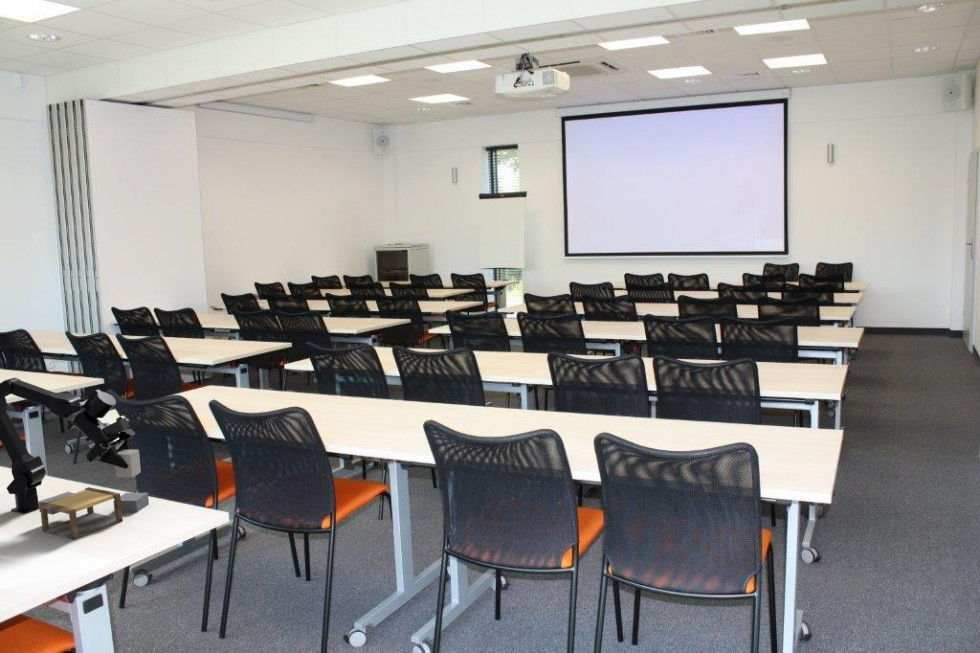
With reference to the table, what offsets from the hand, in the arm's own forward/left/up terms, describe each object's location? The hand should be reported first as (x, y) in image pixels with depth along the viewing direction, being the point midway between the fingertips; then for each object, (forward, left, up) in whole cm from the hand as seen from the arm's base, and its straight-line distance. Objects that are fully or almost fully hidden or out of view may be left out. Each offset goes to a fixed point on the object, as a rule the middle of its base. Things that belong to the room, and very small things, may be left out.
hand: (132, 464), depth 245 cm
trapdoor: (-4, -17, -9) cm, 20 cm away
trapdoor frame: (-1, -17, -13) cm, 21 cm away
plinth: (-1, -1, -13) cm, 13 cm away
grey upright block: (-1, -1, -3) cm, 3 cm away
